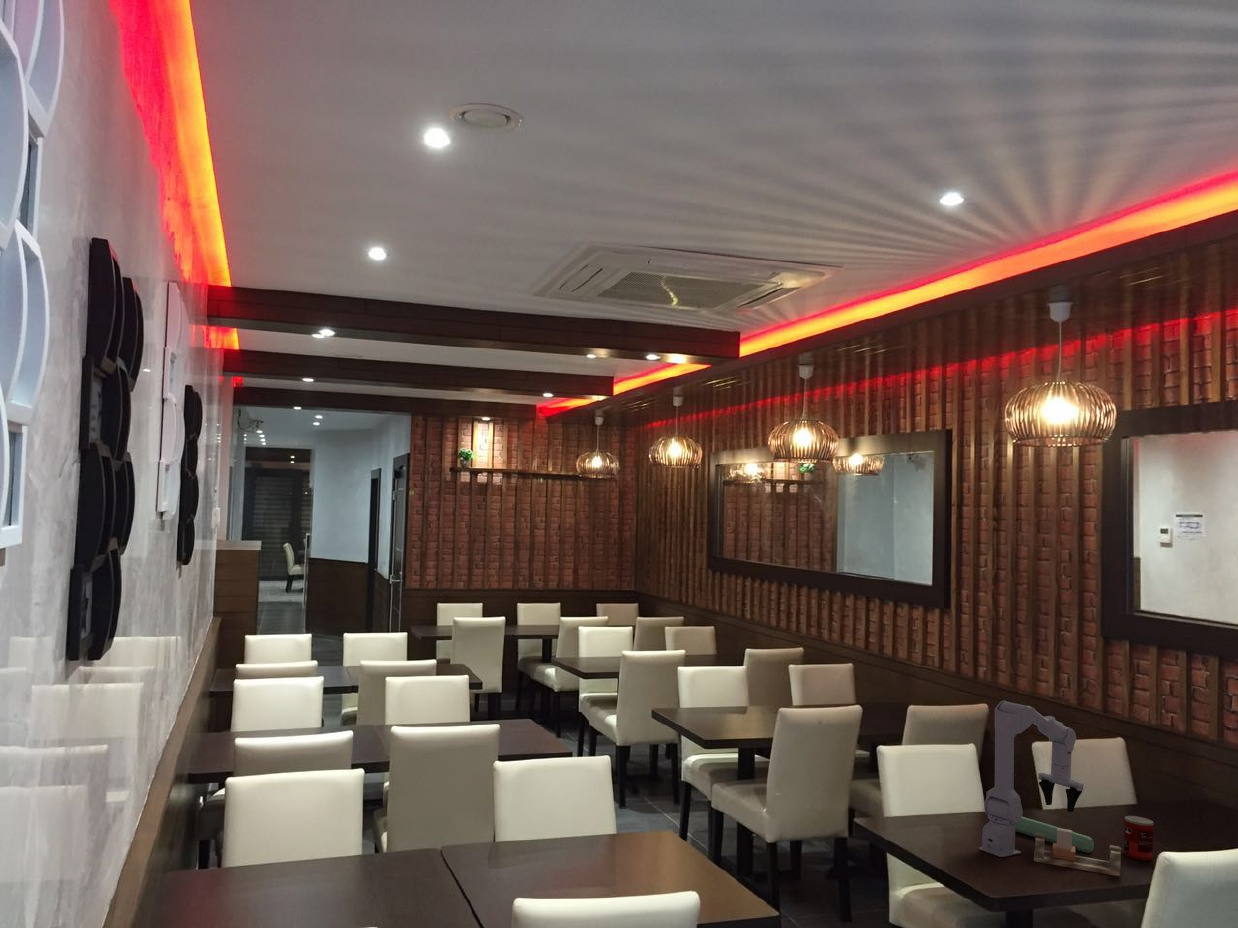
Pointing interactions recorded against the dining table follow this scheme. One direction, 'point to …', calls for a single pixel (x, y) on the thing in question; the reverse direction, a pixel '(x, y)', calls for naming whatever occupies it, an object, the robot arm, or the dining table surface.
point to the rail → (1079, 859)
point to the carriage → (1064, 845)
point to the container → (1053, 834)
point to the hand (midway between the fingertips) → (1059, 808)
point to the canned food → (1138, 837)
